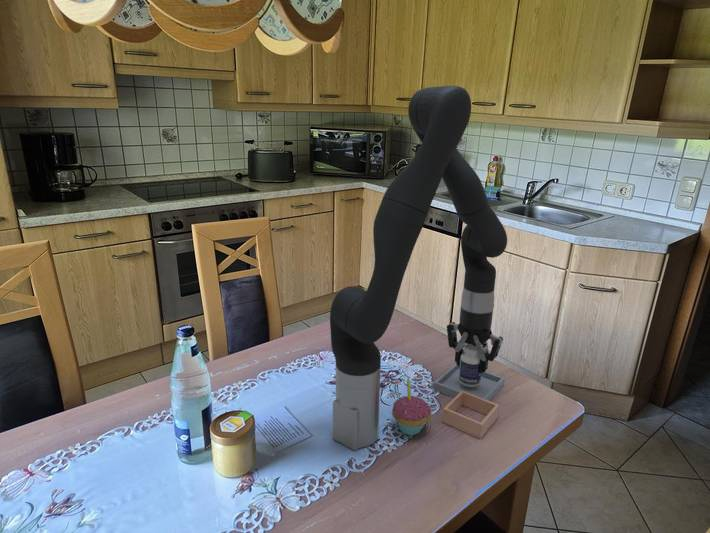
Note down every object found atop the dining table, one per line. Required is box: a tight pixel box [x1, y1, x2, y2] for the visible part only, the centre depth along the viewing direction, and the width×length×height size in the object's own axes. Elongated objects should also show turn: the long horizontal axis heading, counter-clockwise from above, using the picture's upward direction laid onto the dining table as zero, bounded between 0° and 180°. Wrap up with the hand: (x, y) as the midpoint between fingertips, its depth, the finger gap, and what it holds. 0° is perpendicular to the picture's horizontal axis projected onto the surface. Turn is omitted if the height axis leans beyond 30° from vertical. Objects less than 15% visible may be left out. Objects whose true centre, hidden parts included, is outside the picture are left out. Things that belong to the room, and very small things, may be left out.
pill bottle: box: [459, 344, 481, 387], centre depth 120 cm, size 5×5×10 cm
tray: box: [433, 363, 505, 402], centre depth 122 cm, size 13×13×2 cm
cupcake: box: [391, 376, 432, 436], centre depth 105 cm, size 9×8×12 cm
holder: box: [442, 391, 500, 440], centre depth 109 cm, size 9×9×4 cm
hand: (470, 367), depth 120 cm, fingers closed on pill bottle, 5 cm apart
